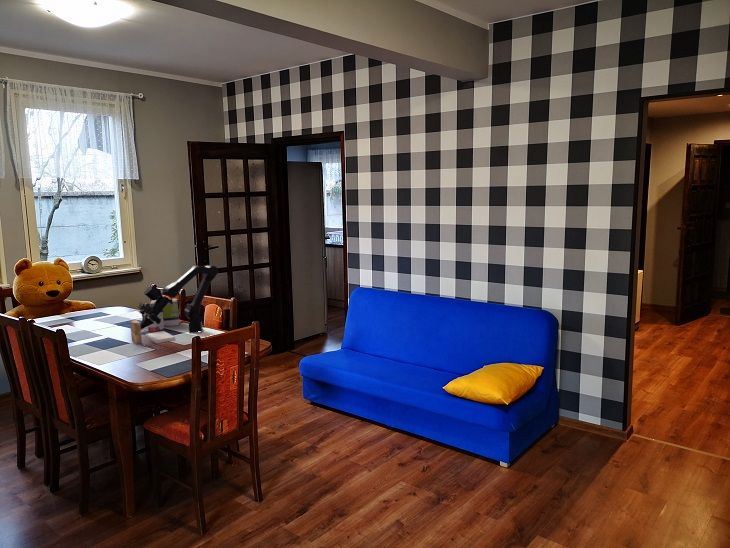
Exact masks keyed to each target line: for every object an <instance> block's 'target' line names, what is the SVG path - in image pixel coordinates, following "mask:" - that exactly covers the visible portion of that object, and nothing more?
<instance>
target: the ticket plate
mask: <svg viewBox="0 0 730 548" xmlns="http://www.w3.org/2000/svg"><path fill="white" fill-rule="evenodd" d="M145 337H146V338H147V339H148V340H149V341H150V340H151V341H152V342H153V343H155V344H158V343H165V342H170V341H175V340H176V336H174V335H172V334H170V333H168V332H167V331H165V330H160V331H157V332H149V333H145Z"/></svg>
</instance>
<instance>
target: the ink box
mask: <svg viewBox="0 0 730 548" xmlns="http://www.w3.org/2000/svg"><path fill="white" fill-rule="evenodd" d="M162 311H163V310H162ZM157 317H159V318H160V319H161V322H160V324H157V323H156V322H155V321H154V324H151V325H149V326H147V327H148V332H149V333H155V332H160V331H163V330H164V328H165V326H164V322H163V312H161V313H160V314H159V315H158V316H157ZM159 330H160V331H159Z"/></svg>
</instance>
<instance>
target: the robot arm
mask: <svg viewBox="0 0 730 548" xmlns="http://www.w3.org/2000/svg"><path fill="white" fill-rule="evenodd" d="M218 273H219V270H218V267H217V266H215V265H211V264H207V265H193V266H192V267H191V268H190V269H189V270H188V271H186V273H184V274H183V275H182V276H180V277H179V278H178V279H177V280H176V281H174V282H171V283H170V284H168V285H167V286H165V287H164V288H162V289H159V288H158V287H157V286H156V285H155V284H152V285H150V286H148V287H147V288H146V289H145V290H144V293H143V295H144V296H146V297H147V298H149V300H150V301H154V300H156V301H155V303H154V304H151V305H150V303H148V302H146V303H143V302H139V304H138V307H137V308H138V309H139V311H138V313H139V314H141V317H142V320H141V322H140V326H141V330H144V329H145V328H147V327H148V326H149V325H151V324H154V321H155V322H156V323H157V324H160V322H161V319H160V318H159V317H157V316H158V315H159V314H160V313H161V312H163V311H162V310H163V309H164V308H165V306H166V305H167V304H168V303H170V304H173V302H172V299H175V298H176V297H177V296H178V294H179V293H180V292H181V290H182V289H183V287H185V285H187V284H189V282H190V281H191V280H192V279H193V278H195V276H197V275H198V274H202V279H201V281H200V284H199V285H198V288H197V290H196V293H195V295H194V298H193V299H192V302H190V303H187V304H186V306H185V307H184V313H183V314H184V317H186V319H188V320H189V323H188V331H189V332H188V333H189V334H192V333H191V332H198V331H202V330H203V331H204V328H203V321H204V317H203V316H202V315H200V311H201V304H202V301H203V300H204V297H205V295H206V292H207V291H208V289H209V286H210V284H211V282H212V281H213V280H214V279H215V278H216V276H217V275H218ZM203 331H202V332H203Z"/></svg>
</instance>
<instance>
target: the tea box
mask: <svg viewBox="0 0 730 548" xmlns="http://www.w3.org/2000/svg"><path fill="white" fill-rule="evenodd" d="M171 299H172V302H173V304H170V303H168V304H167V305H166V306H165V308H164V309H163V322H164V327H173V326H180V315H179V307H178V298H176V297H174V298H171ZM155 301H156V300H153V301H152V300H150V303H149V304H150V305H151V304H154V303H155Z"/></svg>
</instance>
